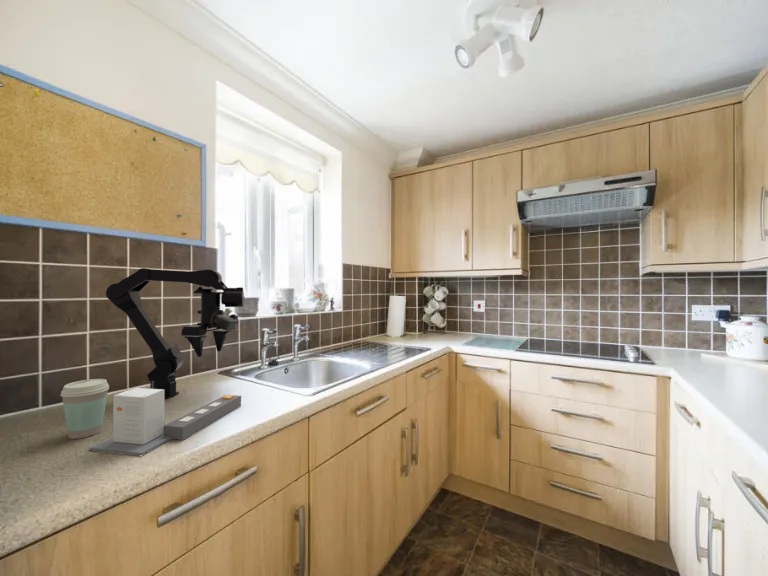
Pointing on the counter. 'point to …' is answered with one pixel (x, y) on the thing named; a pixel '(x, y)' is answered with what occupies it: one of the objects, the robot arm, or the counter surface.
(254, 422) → the counter surface
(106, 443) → the rubber mat
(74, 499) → the counter surface
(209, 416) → the power strip
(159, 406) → the small box
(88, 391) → the coffee cup
